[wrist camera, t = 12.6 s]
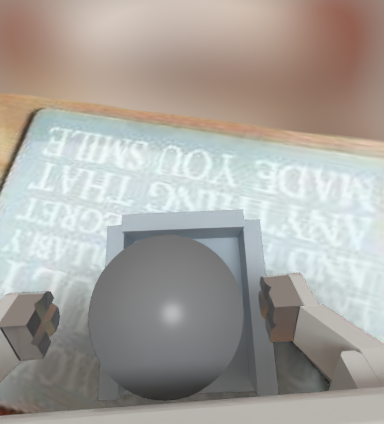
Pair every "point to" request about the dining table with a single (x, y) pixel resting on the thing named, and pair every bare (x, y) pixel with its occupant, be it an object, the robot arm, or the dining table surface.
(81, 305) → the dining table surface
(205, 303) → the grey domed cylinder
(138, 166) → the dining table surface
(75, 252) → the dining table surface
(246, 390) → the tray
